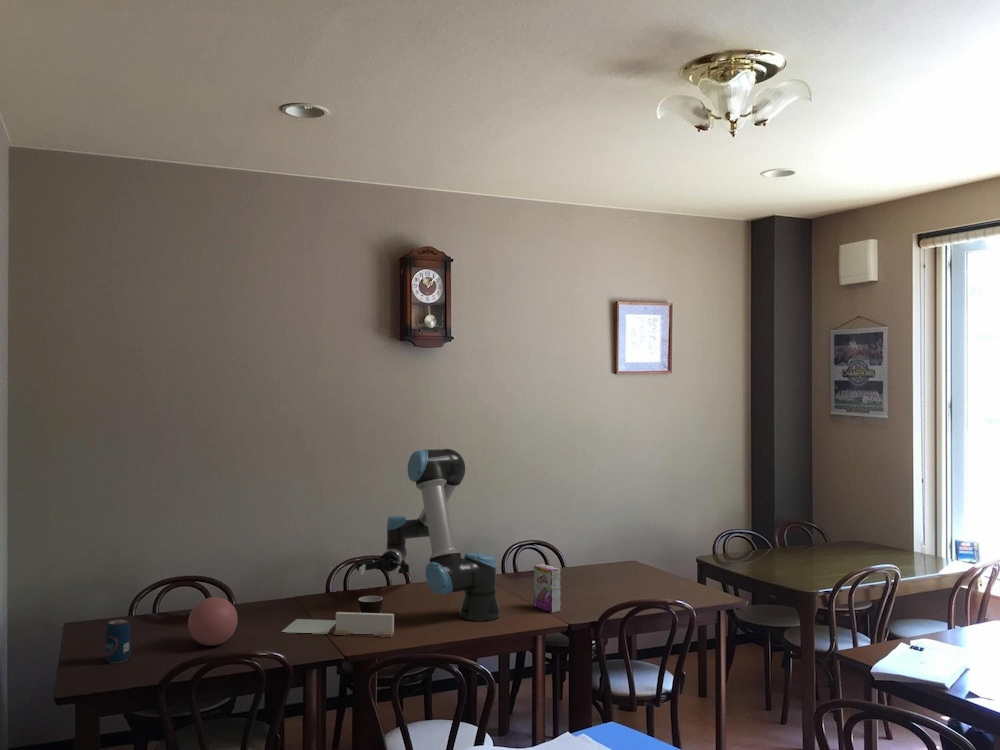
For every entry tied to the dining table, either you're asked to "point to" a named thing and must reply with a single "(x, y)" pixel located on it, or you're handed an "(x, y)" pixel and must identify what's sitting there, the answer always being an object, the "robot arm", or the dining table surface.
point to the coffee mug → (370, 604)
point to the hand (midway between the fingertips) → (377, 572)
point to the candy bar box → (547, 588)
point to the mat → (310, 626)
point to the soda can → (117, 641)
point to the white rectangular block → (364, 623)
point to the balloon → (212, 621)
